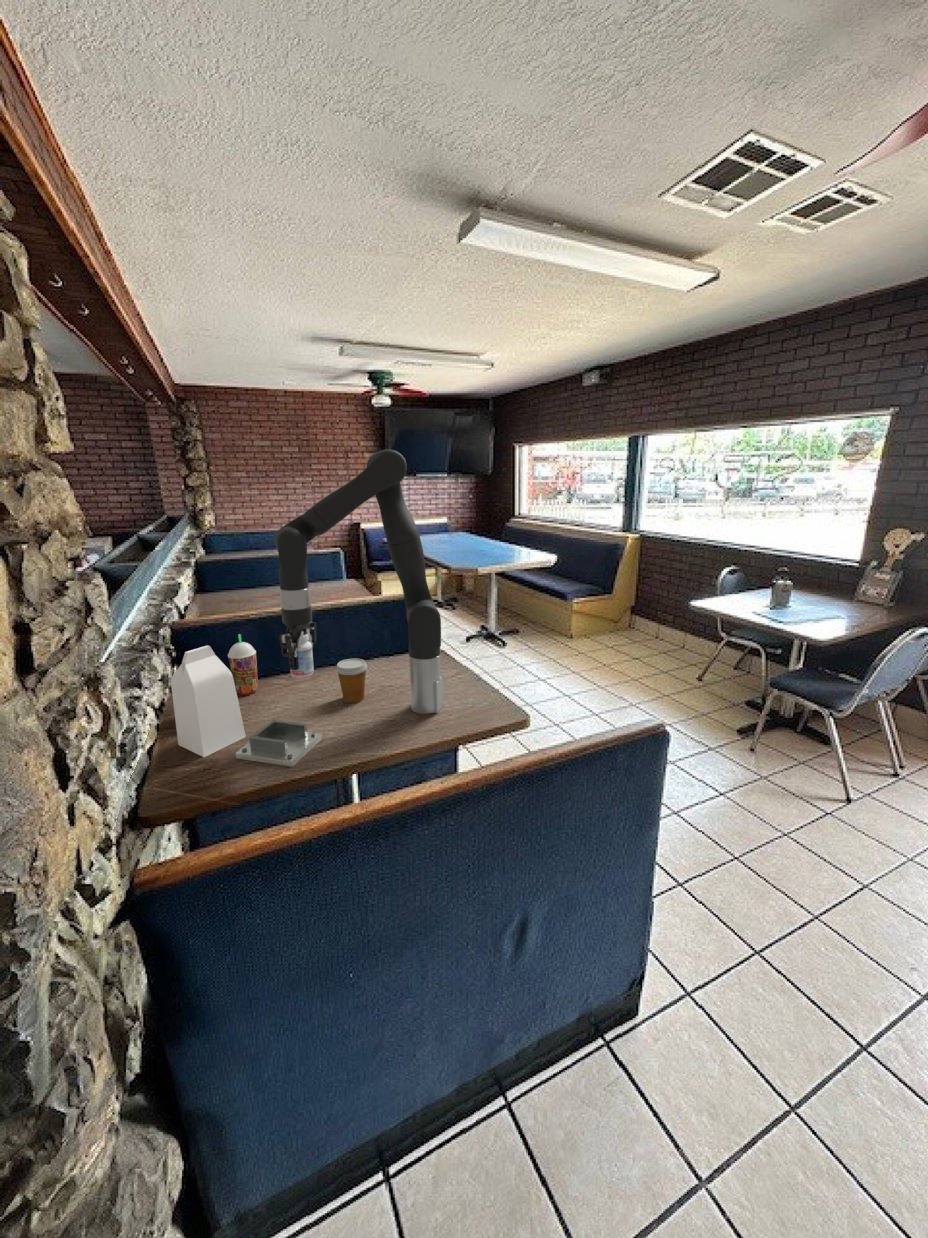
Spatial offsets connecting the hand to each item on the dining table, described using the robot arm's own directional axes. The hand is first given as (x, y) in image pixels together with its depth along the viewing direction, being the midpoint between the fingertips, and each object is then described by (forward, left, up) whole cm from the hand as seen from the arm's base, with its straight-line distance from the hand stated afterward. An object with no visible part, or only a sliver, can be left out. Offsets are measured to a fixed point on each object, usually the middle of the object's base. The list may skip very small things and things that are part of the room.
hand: (301, 664), depth 137 cm
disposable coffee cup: (-4, -21, -19) cm, 28 cm away
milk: (+21, +12, -19) cm, 31 cm away
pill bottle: (0, 0, -3) cm, 3 cm away
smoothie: (+32, -17, -19) cm, 41 cm away
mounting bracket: (+1, +11, -19) cm, 22 cm away
